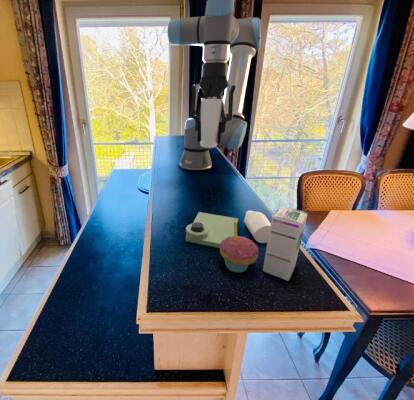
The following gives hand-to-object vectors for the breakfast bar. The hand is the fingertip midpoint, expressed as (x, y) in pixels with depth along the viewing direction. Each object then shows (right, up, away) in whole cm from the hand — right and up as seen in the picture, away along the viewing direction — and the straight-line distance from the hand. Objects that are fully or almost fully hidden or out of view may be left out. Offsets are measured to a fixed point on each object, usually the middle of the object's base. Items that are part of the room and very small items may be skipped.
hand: (209, 141), depth 87 cm
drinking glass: (0, -2, +1) cm, 2 cm away
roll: (+11, -28, -12) cm, 32 cm away
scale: (-1, -28, -12) cm, 30 cm away
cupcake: (+2, -35, -25) cm, 43 cm away
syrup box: (+11, -35, -26) cm, 45 cm away
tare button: (-6, -27, -16) cm, 32 cm away
